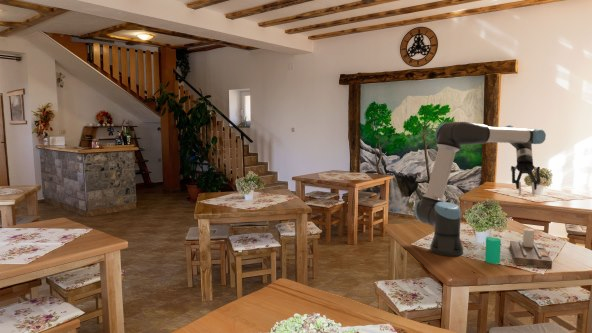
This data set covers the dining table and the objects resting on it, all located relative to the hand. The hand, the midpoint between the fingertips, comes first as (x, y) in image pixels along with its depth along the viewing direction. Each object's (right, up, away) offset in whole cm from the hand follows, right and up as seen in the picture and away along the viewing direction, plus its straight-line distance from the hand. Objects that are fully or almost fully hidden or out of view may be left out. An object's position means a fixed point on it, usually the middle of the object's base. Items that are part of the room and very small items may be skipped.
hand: (526, 193), depth 208 cm
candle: (-28, -29, -22) cm, 46 cm away
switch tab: (-5, -24, -11) cm, 27 cm away
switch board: (-8, -28, -16) cm, 33 cm away
